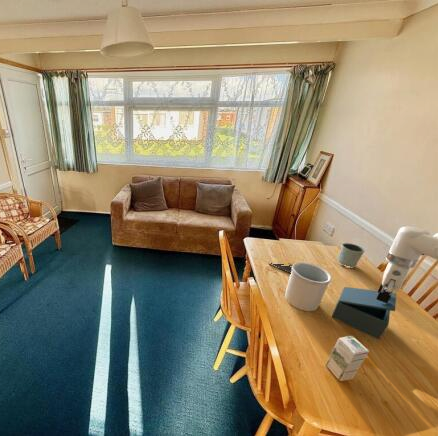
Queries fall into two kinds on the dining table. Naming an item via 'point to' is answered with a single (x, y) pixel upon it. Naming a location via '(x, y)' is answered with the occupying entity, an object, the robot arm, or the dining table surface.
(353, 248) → the grey-green pot
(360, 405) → the dining table surface
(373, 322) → the chest
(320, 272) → the utensil holder
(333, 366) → the syrup box
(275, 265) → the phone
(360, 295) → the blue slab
